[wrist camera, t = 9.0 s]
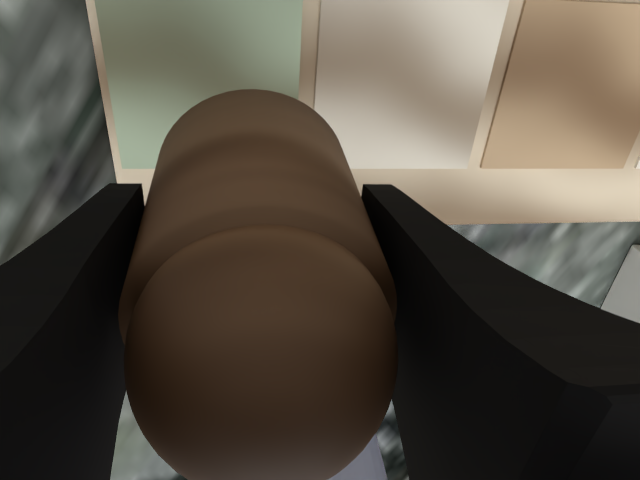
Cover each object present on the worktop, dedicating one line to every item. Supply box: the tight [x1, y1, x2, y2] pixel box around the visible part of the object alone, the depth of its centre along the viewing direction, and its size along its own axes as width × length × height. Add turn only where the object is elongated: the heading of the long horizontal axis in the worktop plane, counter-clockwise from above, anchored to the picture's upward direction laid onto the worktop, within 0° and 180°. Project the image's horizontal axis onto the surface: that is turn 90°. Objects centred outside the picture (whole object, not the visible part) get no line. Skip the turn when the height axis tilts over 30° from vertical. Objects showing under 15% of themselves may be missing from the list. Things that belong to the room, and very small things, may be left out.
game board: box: [86, 0, 640, 225], centre depth 20 cm, size 12×28×1 cm, turn 86°
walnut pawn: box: [118, 89, 398, 480], centre depth 9 cm, size 4×4×7 cm
